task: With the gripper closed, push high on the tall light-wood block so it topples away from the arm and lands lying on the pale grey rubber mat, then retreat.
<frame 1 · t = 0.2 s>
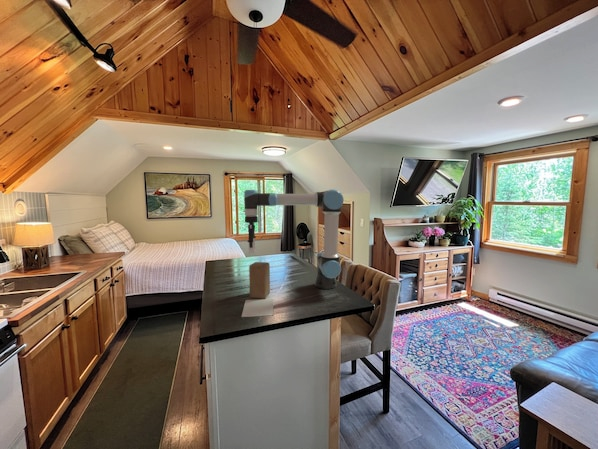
hand: (252, 250, 152), 28 cm above the worktop, fingers open, 13 cm apart
wooden block: (260, 296, 153), on the worktop
mat: (258, 307, 136), on the worktop
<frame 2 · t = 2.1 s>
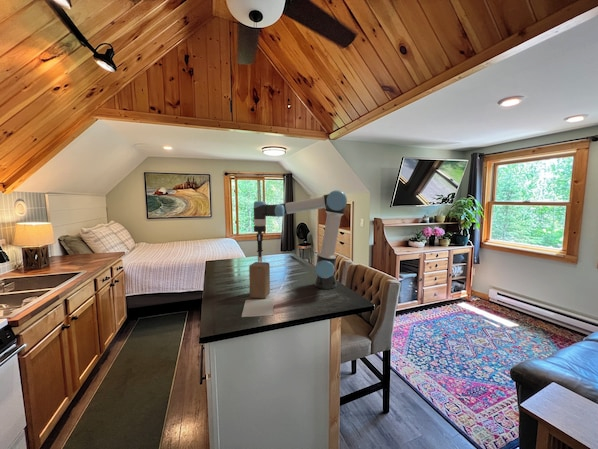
hand: (259, 261, 163), 19 cm above the worktop, fingers closed
nothing on the worktop moved.
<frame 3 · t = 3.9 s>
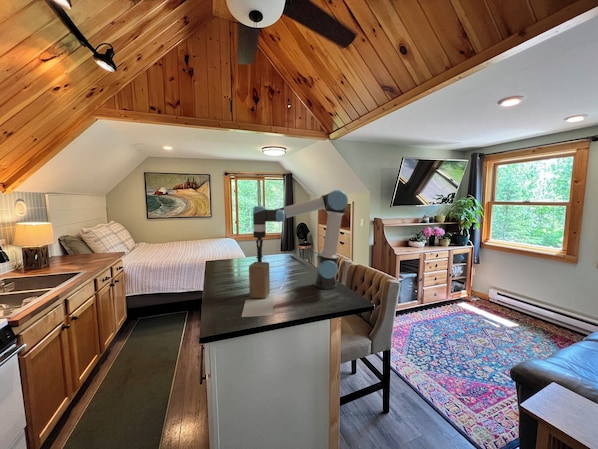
hand: (259, 267, 159), 16 cm above the worktop, fingers closed
wooden block: (260, 295, 153), on the worktop, touching gripper
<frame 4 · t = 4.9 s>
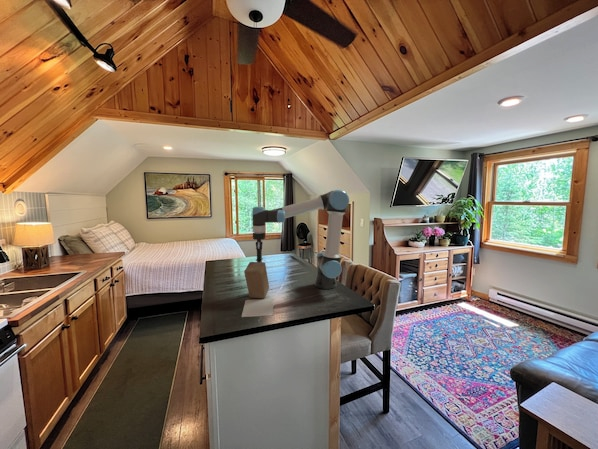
hand: (259, 270, 153), 16 cm above the worktop, fingers closed
wooden block: (259, 293, 153), point 2 cm above the worktop
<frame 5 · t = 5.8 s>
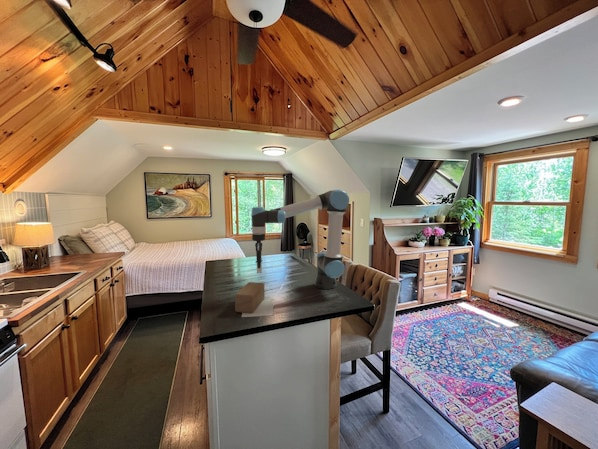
hand: (259, 272, 148), 15 cm above the worktop, fingers closed
wooden block: (257, 290, 148), point 5 cm above the worktop, touching mat
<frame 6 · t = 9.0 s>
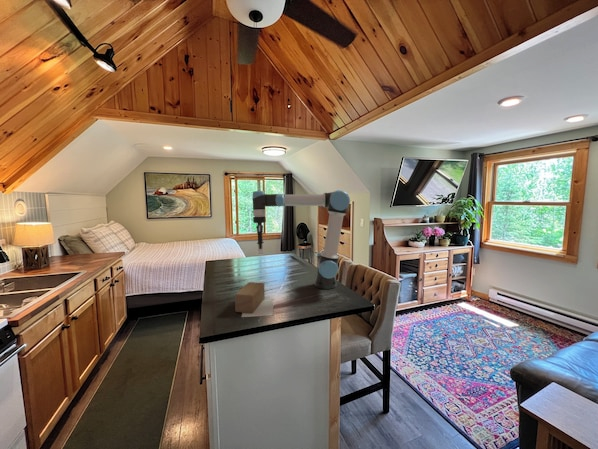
hand: (260, 253, 157), 25 cm above the worktop, fingers closed
nothing on the worktop moved.
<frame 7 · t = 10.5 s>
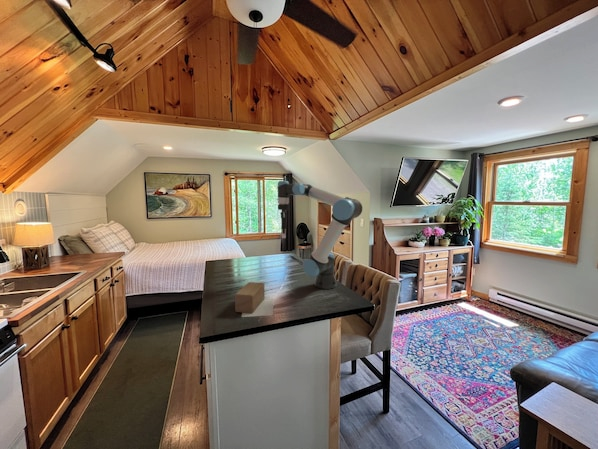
hand: (283, 237, 173), 32 cm above the worktop, fingers closed
nothing on the worktop moved.
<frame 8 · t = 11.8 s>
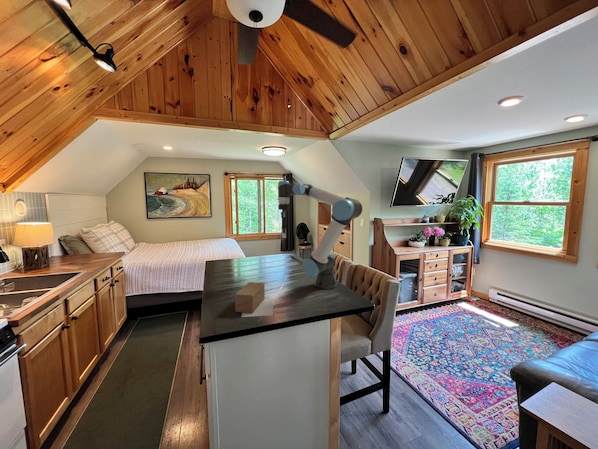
hand: (284, 237, 174), 32 cm above the worktop, fingers closed
nothing on the worktop moved.
at the end: wooden block tilted 90°; wooden block inside the target area (4.5 cm from its centre), point 5.3 cm above the worktop; the gripper is holding nothing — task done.
